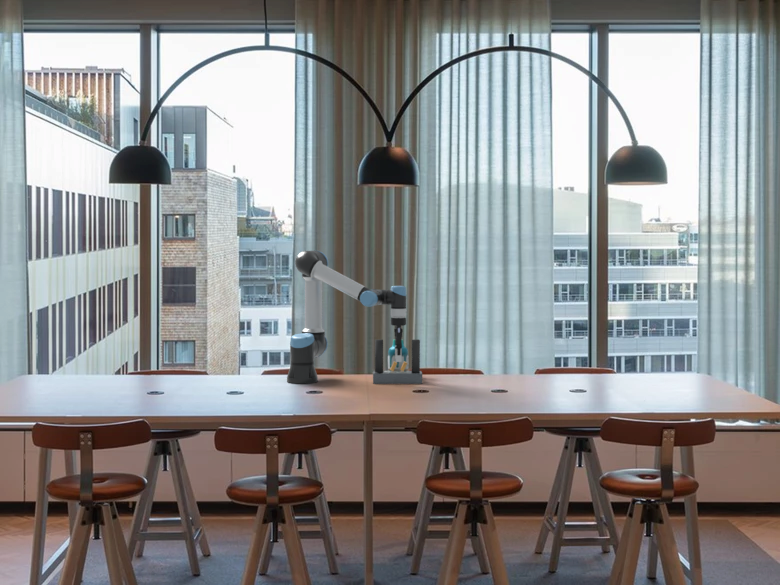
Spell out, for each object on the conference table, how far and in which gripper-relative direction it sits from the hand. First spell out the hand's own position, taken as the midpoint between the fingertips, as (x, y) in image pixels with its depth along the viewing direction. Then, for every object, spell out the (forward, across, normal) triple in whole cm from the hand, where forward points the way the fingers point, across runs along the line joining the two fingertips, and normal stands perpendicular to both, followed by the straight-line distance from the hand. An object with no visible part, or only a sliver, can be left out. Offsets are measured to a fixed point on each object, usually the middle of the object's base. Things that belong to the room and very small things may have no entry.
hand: (398, 360), depth 467 cm
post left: (+6, 0, +9) cm, 11 cm away
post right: (+6, 0, -9) cm, 10 cm away
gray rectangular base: (+11, 0, 0) cm, 11 cm away
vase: (+11, +20, -1) cm, 23 cm away
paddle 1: (+6, 0, +3) cm, 6 cm away
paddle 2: (+6, 0, -2) cm, 6 cm away
